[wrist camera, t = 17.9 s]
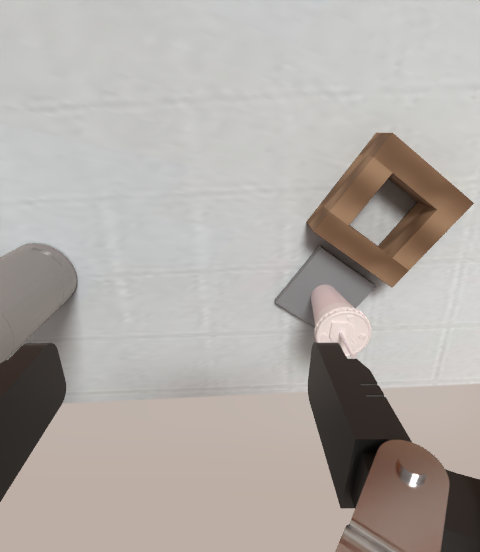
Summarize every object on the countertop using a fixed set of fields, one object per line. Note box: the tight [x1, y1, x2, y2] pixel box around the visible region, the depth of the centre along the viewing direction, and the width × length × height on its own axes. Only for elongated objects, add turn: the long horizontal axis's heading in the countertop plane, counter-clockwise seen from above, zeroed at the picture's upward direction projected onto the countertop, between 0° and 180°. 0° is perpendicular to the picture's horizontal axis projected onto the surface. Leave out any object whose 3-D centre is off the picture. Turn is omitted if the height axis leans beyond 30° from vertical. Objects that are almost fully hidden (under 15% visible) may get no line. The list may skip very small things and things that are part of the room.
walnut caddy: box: [307, 133, 474, 287], centre depth 40 cm, size 13×13×4 cm
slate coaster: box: [275, 246, 376, 327], centre depth 47 cm, size 10×10×1 cm
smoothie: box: [311, 285, 372, 359], centre depth 40 cm, size 6×6×14 cm
